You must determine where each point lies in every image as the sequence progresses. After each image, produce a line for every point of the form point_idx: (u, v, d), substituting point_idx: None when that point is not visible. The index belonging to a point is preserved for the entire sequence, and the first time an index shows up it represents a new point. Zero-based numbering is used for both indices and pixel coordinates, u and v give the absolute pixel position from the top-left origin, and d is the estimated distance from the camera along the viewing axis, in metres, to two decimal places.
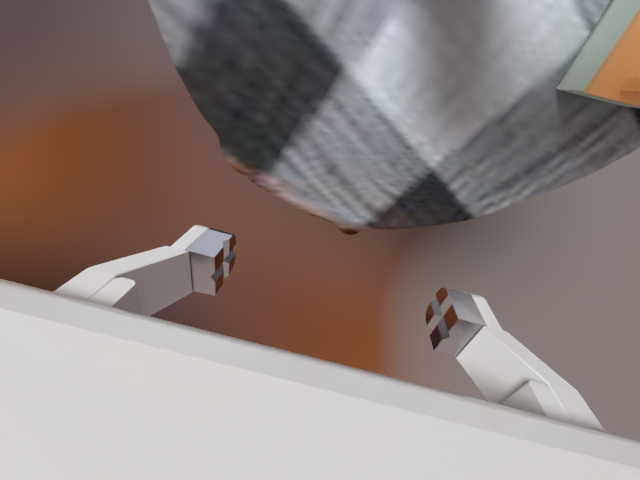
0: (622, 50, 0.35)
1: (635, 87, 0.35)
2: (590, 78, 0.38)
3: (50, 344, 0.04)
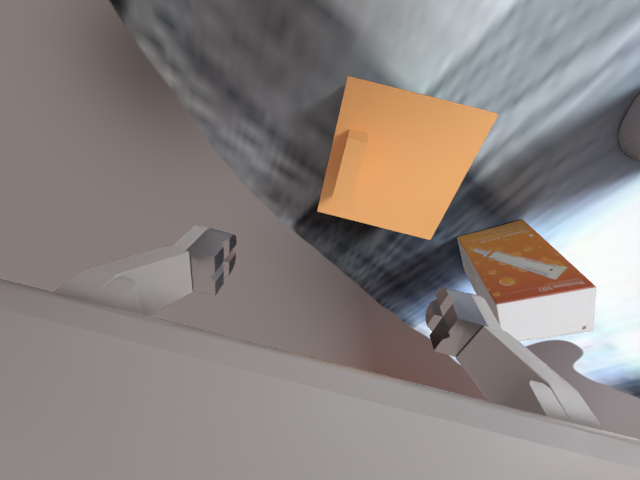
0: (408, 99, 0.21)
1: (353, 134, 0.21)
2: None
3: (50, 344, 0.04)
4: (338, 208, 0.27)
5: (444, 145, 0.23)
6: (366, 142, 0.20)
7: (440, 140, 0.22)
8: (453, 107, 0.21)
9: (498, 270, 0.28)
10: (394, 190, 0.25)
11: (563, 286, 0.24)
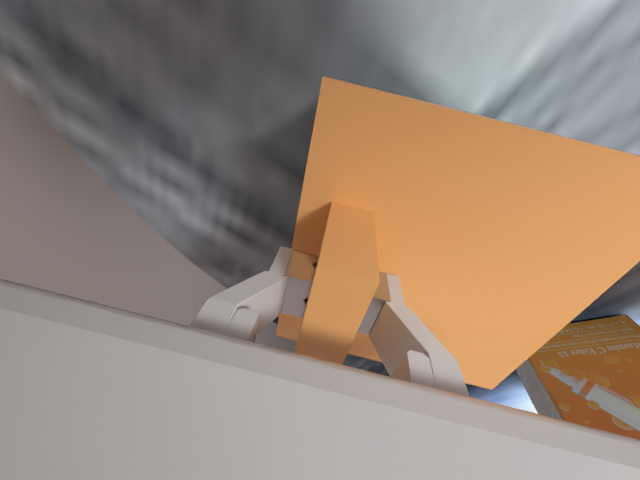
0: (483, 140, 0.08)
1: (338, 231, 0.08)
2: None
3: (50, 344, 0.04)
4: None
5: (559, 243, 0.09)
6: (375, 279, 0.06)
7: (551, 233, 0.09)
8: (605, 160, 0.08)
9: None
10: (429, 316, 0.12)
11: None
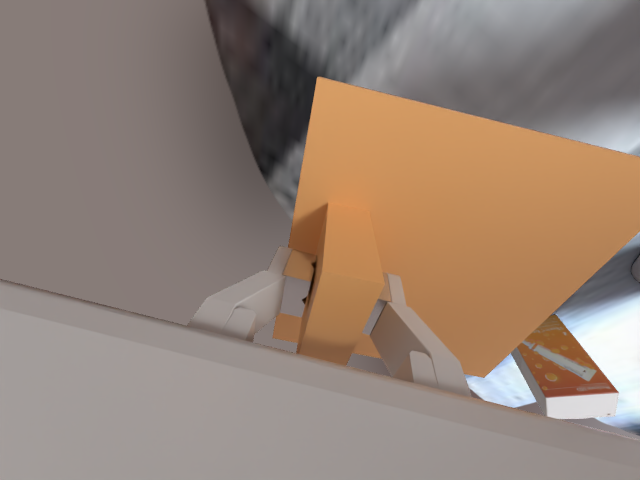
0: (476, 139, 0.08)
1: (338, 233, 0.08)
2: None
3: (50, 344, 0.04)
4: None
5: (546, 236, 0.10)
6: (380, 281, 0.06)
7: (539, 227, 0.10)
8: (589, 157, 0.08)
9: (543, 364, 0.38)
10: (424, 311, 0.12)
11: (594, 388, 0.34)
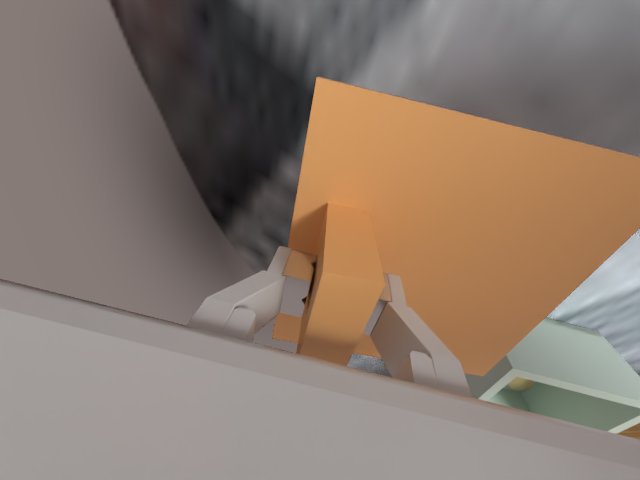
0: (476, 139, 0.08)
1: (338, 234, 0.08)
2: (528, 363, 0.20)
3: (50, 344, 0.04)
4: None
5: (545, 236, 0.10)
6: (380, 282, 0.06)
7: (538, 226, 0.10)
8: (588, 157, 0.08)
9: None
10: (424, 310, 0.12)
11: None
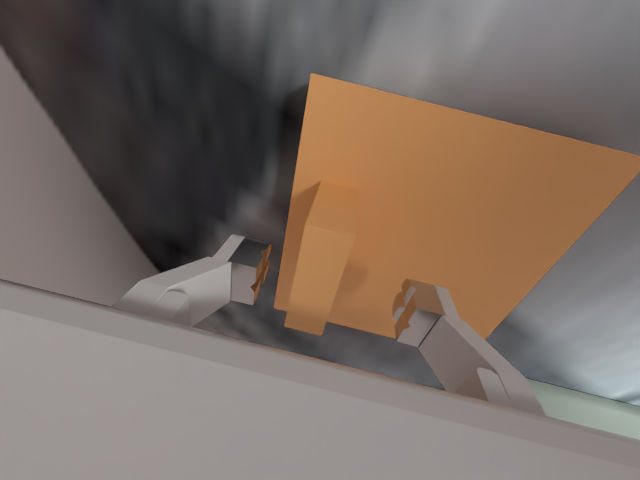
0: (446, 126, 0.10)
1: (324, 202, 0.10)
2: None
3: (50, 344, 0.04)
4: None
5: (515, 216, 0.11)
6: (351, 235, 0.08)
7: (508, 207, 0.11)
8: (547, 143, 0.09)
9: None
10: None
11: None
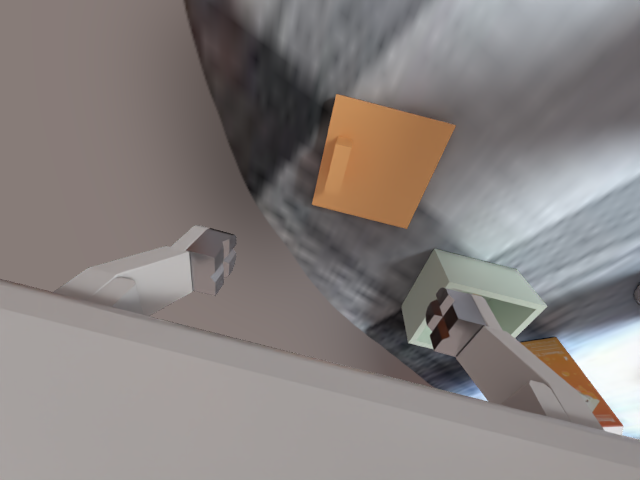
0: (384, 113, 0.26)
1: (340, 140, 0.26)
2: (460, 280, 0.31)
3: (50, 344, 0.04)
4: (330, 202, 0.32)
5: (414, 150, 0.28)
6: (350, 147, 0.25)
7: (411, 146, 0.28)
8: (420, 120, 0.26)
9: None
10: (375, 187, 0.31)
11: (598, 420, 0.32)
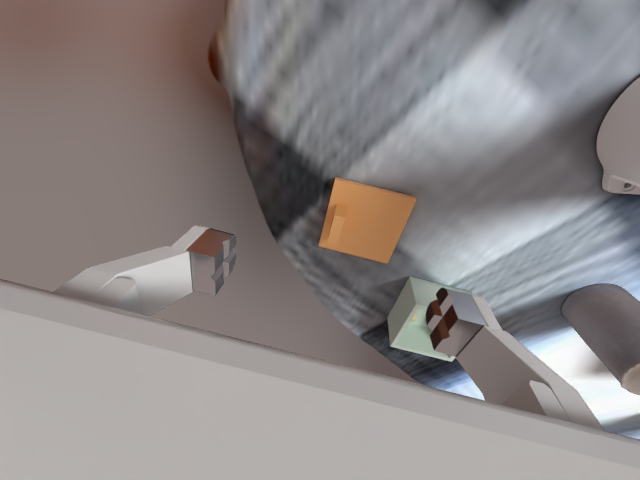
0: (368, 191, 0.39)
1: (338, 210, 0.39)
2: (424, 302, 0.43)
3: (50, 344, 0.04)
4: (331, 244, 0.45)
5: (390, 213, 0.40)
6: (344, 217, 0.37)
7: (387, 211, 0.40)
8: (392, 195, 0.39)
9: None
10: (364, 236, 0.43)
11: None
